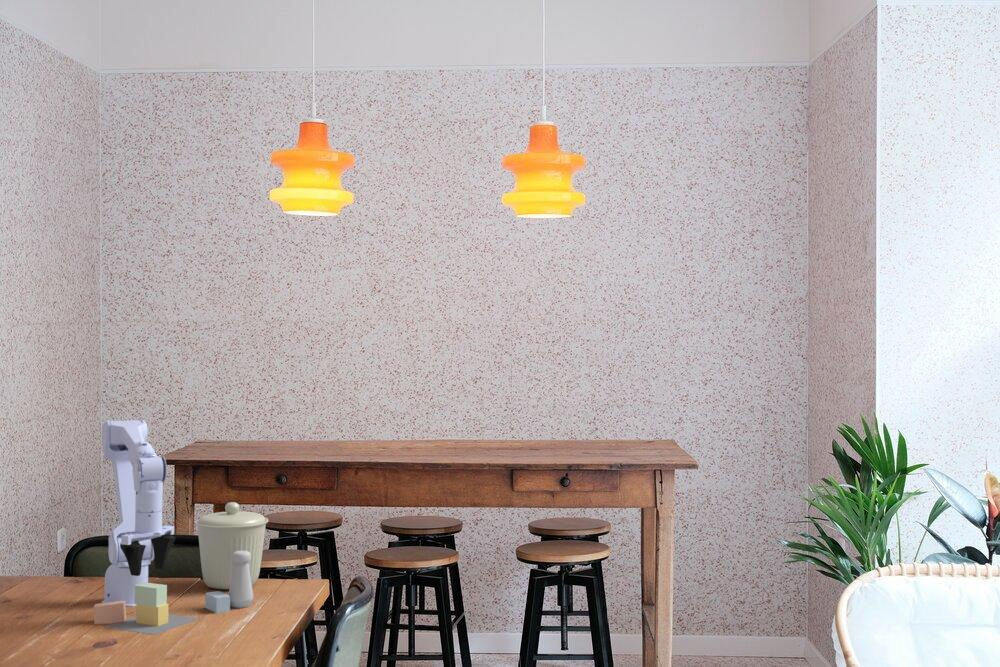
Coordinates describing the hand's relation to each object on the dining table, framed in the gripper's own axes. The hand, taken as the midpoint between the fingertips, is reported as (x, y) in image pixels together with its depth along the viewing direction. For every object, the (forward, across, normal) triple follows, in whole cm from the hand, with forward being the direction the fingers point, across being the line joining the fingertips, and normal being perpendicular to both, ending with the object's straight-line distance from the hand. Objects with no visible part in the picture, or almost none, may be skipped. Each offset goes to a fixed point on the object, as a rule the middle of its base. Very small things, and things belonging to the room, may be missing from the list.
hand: (147, 571), depth 223 cm
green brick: (+5, -5, -6) cm, 9 cm away
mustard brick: (+9, -5, -6) cm, 12 cm away
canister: (+10, +32, +2) cm, 34 cm away
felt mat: (+10, -5, -6) cm, 13 cm away
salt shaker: (+10, +15, -14) cm, 23 cm away
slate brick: (+10, +10, -11) cm, 18 cm away
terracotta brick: (+10, -8, +3) cm, 13 cm away
